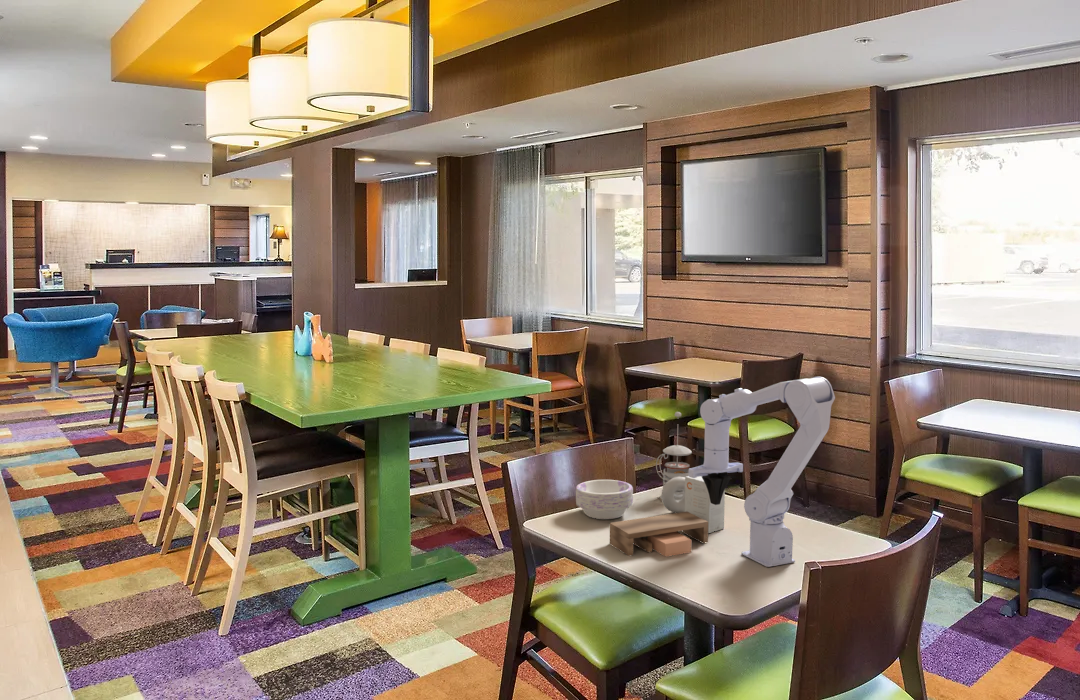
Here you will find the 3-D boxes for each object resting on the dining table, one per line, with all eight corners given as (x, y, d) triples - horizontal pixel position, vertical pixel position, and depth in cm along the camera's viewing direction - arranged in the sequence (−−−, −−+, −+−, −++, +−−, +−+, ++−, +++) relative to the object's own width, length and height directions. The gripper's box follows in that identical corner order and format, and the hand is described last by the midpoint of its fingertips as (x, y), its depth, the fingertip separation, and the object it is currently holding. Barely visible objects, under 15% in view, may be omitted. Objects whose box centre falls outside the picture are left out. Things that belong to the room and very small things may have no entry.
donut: (664, 516, 226) (664, 479, 225) (658, 512, 229) (659, 476, 228) (698, 513, 229) (699, 477, 228) (693, 509, 232) (693, 473, 231)
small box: (724, 528, 216) (725, 478, 214) (708, 534, 212) (709, 482, 210) (699, 521, 222) (700, 472, 221) (683, 526, 218) (684, 476, 217)
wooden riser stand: (707, 542, 205) (708, 521, 205) (628, 555, 196) (628, 533, 196) (686, 531, 213) (686, 511, 213) (609, 543, 204) (609, 522, 204)
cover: (691, 552, 199) (691, 539, 198) (665, 556, 196) (665, 544, 195) (672, 541, 206) (672, 529, 206) (647, 545, 203) (647, 533, 203)
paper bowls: (568, 509, 233) (568, 480, 232) (620, 504, 237) (621, 476, 236) (586, 525, 218) (586, 495, 217) (641, 521, 222) (641, 491, 221)
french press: (681, 505, 236) (682, 416, 233) (647, 497, 244) (648, 411, 241) (700, 498, 243) (702, 411, 240) (667, 490, 251) (668, 406, 248)
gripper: (730, 442, 210) (729, 495, 212) (681, 447, 204) (680, 502, 206) (749, 448, 204) (747, 503, 205) (698, 453, 198) (697, 510, 199)
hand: (715, 503), depth 205 cm, fingers closed
